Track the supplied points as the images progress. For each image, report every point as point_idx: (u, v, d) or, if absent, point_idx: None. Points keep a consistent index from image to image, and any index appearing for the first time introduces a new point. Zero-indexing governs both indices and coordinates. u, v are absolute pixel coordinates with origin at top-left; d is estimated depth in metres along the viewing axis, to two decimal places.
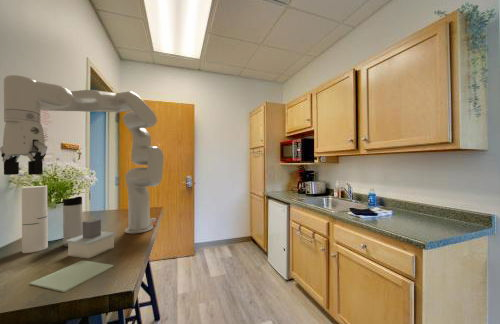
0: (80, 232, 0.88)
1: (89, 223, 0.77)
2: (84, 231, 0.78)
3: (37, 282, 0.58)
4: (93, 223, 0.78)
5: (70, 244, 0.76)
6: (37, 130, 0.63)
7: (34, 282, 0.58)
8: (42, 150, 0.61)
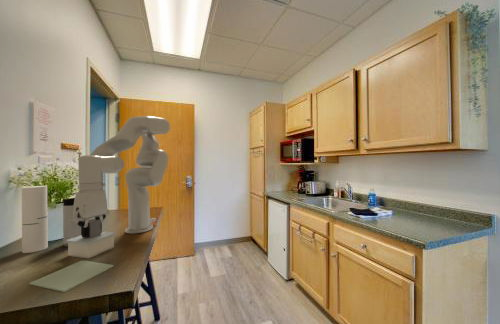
0: (80, 232, 0.88)
1: (89, 223, 0.77)
2: None
3: (37, 282, 0.58)
4: (93, 223, 0.78)
5: (70, 244, 0.76)
6: None
7: (34, 282, 0.58)
8: None
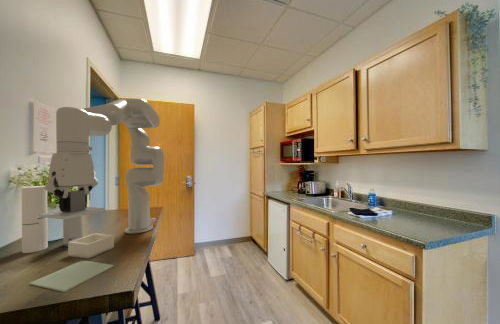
0: (80, 232, 0.88)
1: (70, 193, 0.60)
2: None
3: (37, 282, 0.58)
4: (75, 193, 0.61)
5: (70, 244, 0.76)
6: None
7: (34, 282, 0.58)
8: None
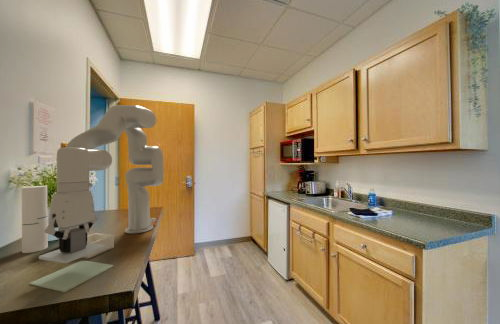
0: None
1: (70, 234, 0.60)
2: None
3: (37, 282, 0.58)
4: (75, 233, 0.61)
5: None
6: None
7: (34, 282, 0.58)
8: None
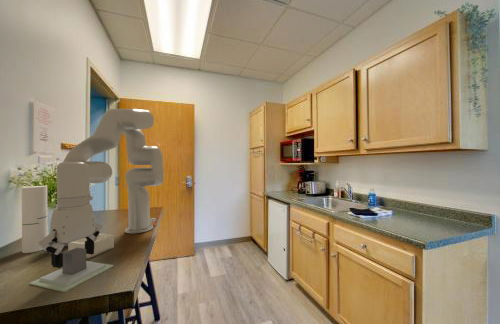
0: None
1: (70, 255, 0.60)
2: (64, 265, 0.61)
3: (37, 282, 0.58)
4: (76, 254, 0.61)
5: (70, 244, 0.76)
6: None
7: (34, 282, 0.58)
8: None
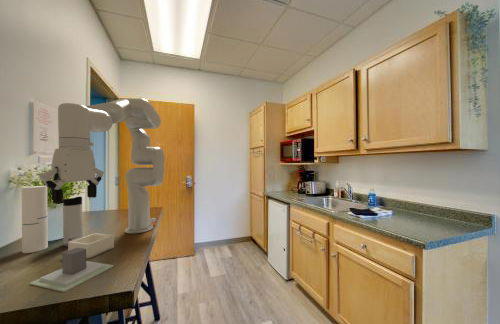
0: (80, 232, 0.88)
1: (70, 255, 0.60)
2: (64, 265, 0.61)
3: (37, 282, 0.58)
4: (76, 254, 0.61)
5: (70, 244, 0.76)
6: None
7: (34, 282, 0.58)
8: None
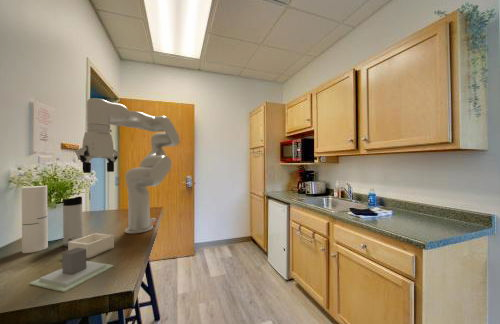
0: (80, 232, 0.88)
1: (70, 255, 0.60)
2: (64, 265, 0.61)
3: (37, 282, 0.58)
4: (76, 254, 0.61)
5: (70, 244, 0.76)
6: None
7: (34, 282, 0.58)
8: None
